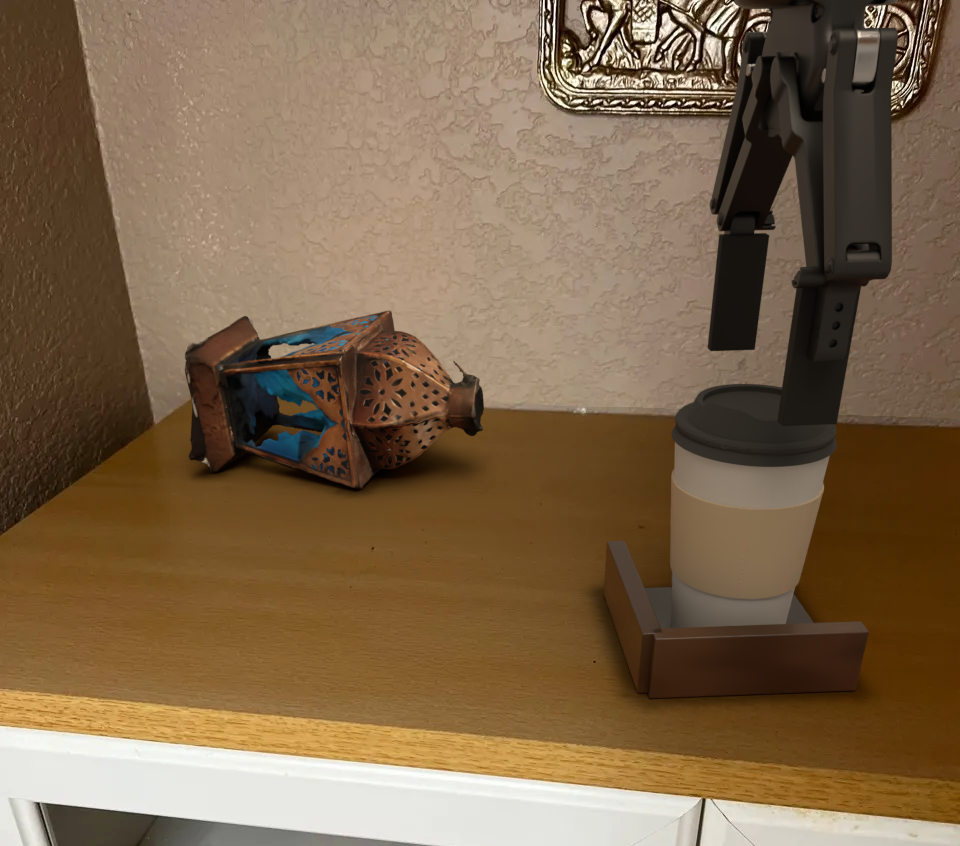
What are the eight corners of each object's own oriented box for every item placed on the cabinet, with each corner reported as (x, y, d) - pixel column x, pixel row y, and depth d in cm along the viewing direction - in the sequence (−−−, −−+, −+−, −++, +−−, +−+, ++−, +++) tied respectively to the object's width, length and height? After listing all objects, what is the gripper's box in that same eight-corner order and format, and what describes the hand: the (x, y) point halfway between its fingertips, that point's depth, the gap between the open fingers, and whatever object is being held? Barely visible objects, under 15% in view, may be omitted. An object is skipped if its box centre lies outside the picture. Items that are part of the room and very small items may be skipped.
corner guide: (785, 588, 67) (794, 535, 65) (856, 691, 56) (869, 631, 54) (603, 594, 67) (606, 540, 65) (639, 699, 56) (644, 639, 54)
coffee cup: (707, 580, 67) (734, 361, 59) (827, 627, 62) (875, 393, 54) (624, 628, 62) (642, 394, 54) (749, 684, 56) (789, 432, 49)
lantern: (233, 520, 93) (488, 532, 87) (143, 431, 78) (444, 439, 72) (269, 372, 98) (514, 374, 92) (191, 261, 83) (477, 255, 77)
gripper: (679, -70, 53) (650, 327, 64) (854, -147, 32) (766, 468, 43) (815, -73, 54) (763, 324, 65) (1078, -149, 32) (933, 462, 43)
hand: (764, 382), depth 54 cm, fingers open, 13 cm apart
